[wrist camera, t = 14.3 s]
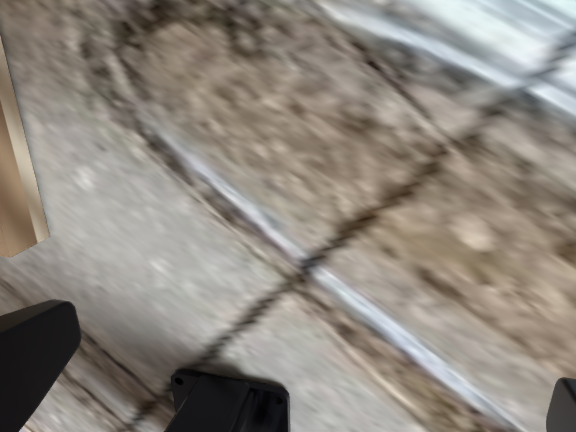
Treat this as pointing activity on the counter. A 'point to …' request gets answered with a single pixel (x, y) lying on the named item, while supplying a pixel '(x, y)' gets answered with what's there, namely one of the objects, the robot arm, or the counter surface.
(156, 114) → the counter surface
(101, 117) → the counter surface
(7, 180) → the brown rectangular tray
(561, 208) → the counter surface
